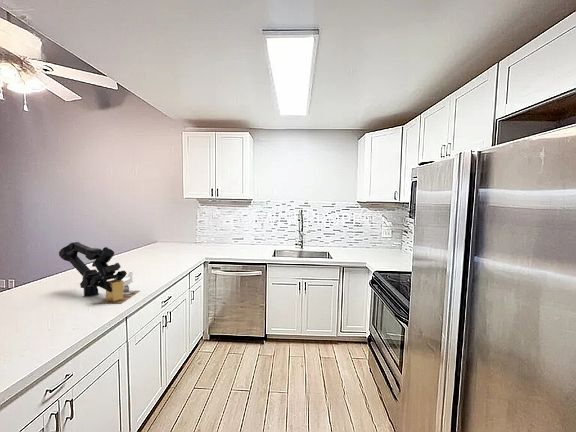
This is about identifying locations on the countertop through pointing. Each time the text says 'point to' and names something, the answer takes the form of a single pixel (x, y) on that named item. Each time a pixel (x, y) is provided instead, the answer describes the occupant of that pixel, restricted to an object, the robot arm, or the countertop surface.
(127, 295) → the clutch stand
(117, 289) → the gold square tube
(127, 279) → the bracket
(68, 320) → the countertop surface
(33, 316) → the countertop surface
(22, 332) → the countertop surface
